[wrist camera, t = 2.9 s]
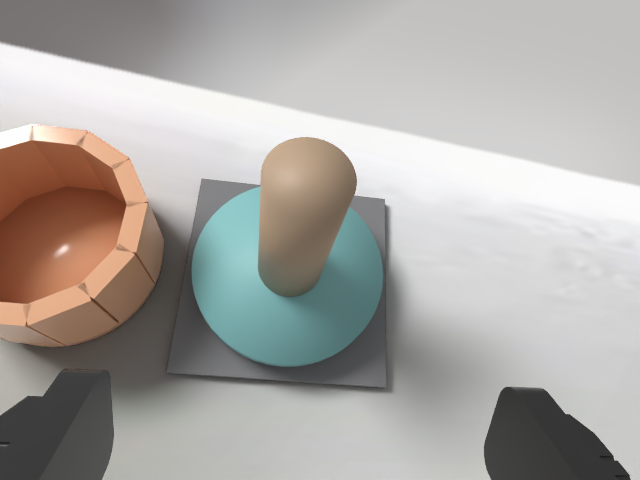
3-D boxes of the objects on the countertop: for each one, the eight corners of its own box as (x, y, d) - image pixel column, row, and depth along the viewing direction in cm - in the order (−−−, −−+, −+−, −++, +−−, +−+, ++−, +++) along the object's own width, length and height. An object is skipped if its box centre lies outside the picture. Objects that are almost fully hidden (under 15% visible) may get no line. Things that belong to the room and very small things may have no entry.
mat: (167, 373, 20) (166, 372, 20) (202, 182, 25) (201, 178, 24) (384, 388, 22) (386, 387, 21) (382, 202, 26) (384, 199, 25)
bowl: (-60, 339, 20) (-141, 313, 16) (6, 171, 23) (-47, 114, 19) (144, 354, 21) (117, 333, 17) (177, 190, 24) (162, 139, 20)
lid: (179, 361, 20) (127, 304, 12) (209, 187, 24) (186, 49, 16) (375, 375, 21) (458, 332, 13) (376, 206, 25) (440, 85, 16)
